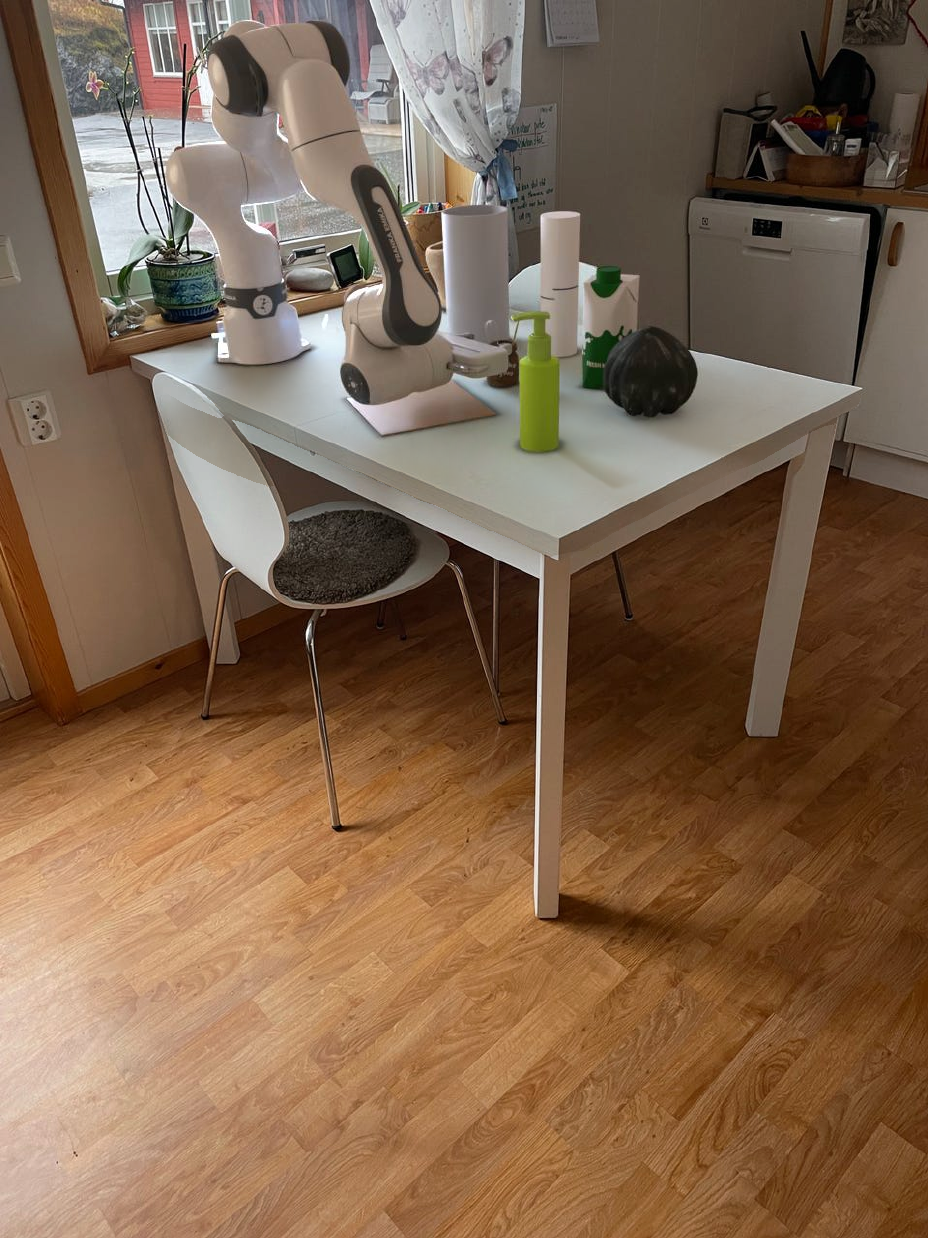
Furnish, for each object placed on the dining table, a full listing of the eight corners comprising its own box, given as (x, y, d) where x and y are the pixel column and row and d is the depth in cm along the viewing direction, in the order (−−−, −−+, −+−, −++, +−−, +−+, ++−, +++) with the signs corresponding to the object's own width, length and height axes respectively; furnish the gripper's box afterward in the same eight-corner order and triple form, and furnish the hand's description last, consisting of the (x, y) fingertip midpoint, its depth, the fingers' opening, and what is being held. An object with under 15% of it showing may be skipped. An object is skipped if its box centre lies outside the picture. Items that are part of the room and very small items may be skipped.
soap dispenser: (511, 439, 150) (509, 309, 139) (555, 436, 150) (556, 306, 139) (516, 453, 145) (514, 319, 134) (561, 450, 145) (563, 316, 134)
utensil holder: (488, 377, 176) (486, 310, 169) (522, 377, 175) (521, 310, 169) (484, 387, 171) (482, 319, 165) (519, 387, 170) (519, 319, 164)
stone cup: (418, 309, 219) (413, 240, 211) (459, 299, 225) (456, 231, 217) (459, 321, 208) (456, 249, 200) (501, 311, 214) (499, 240, 207)
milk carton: (576, 388, 169) (578, 270, 158) (592, 372, 175) (595, 258, 165) (624, 393, 165) (630, 273, 155) (639, 377, 172) (645, 261, 161)
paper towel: (346, 399, 169) (346, 398, 169) (451, 380, 175) (451, 379, 175) (381, 436, 153) (381, 435, 153) (496, 414, 159) (496, 413, 159)
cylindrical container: (575, 357, 184) (578, 218, 170) (538, 356, 185) (538, 218, 172) (578, 346, 190) (582, 210, 176) (542, 345, 191) (543, 211, 178)
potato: (360, 323, 210) (357, 291, 207) (336, 315, 218) (332, 283, 214) (387, 317, 214) (384, 285, 210) (362, 309, 221) (359, 277, 217)
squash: (670, 354, 165) (627, 297, 155) (728, 381, 154) (685, 321, 144) (615, 419, 166) (569, 366, 156) (669, 450, 155) (622, 395, 145)
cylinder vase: (520, 337, 196) (519, 206, 183) (489, 354, 188) (485, 217, 174) (469, 330, 202) (464, 203, 189) (436, 346, 194) (428, 213, 180)
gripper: (470, 354, 151) (532, 335, 159) (391, 331, 165) (451, 314, 172) (472, 393, 155) (532, 372, 162) (394, 367, 168) (453, 349, 176)
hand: (490, 342), depth 167 cm, fingers open, 8 cm apart
